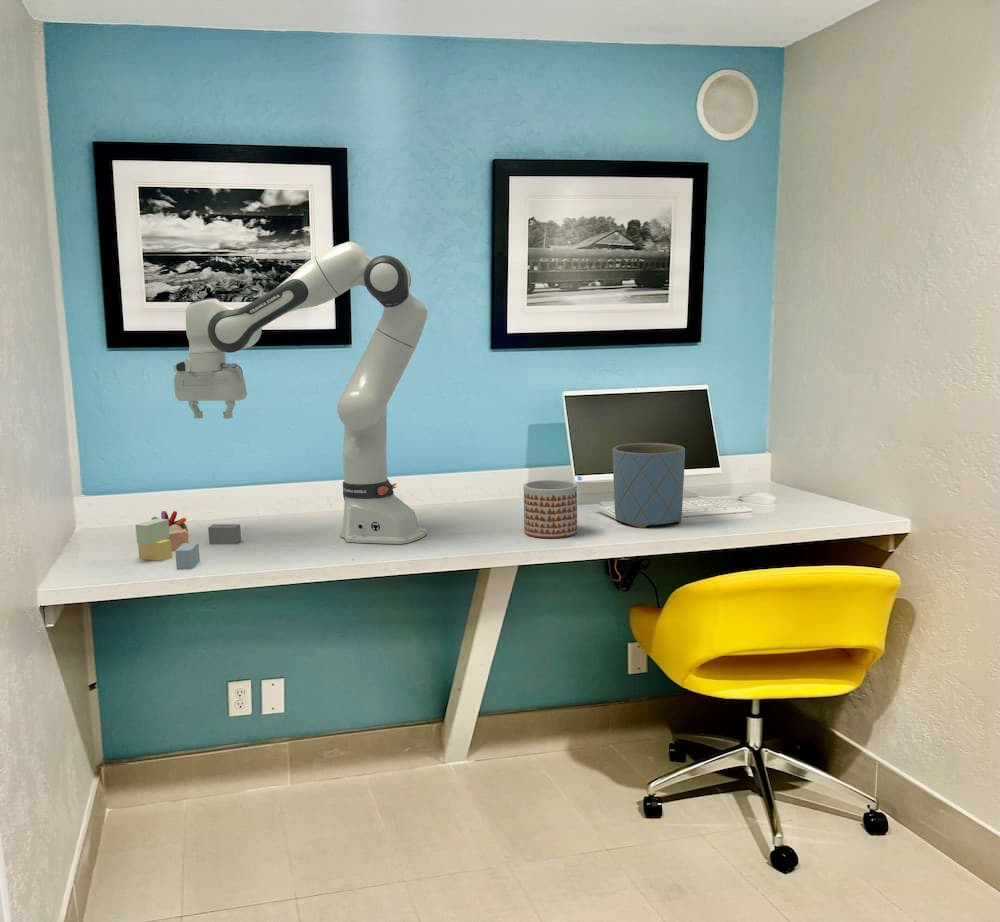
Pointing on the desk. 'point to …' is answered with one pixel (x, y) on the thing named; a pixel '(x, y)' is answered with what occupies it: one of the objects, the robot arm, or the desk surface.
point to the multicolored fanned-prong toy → (173, 525)
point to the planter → (648, 483)
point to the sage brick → (152, 531)
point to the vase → (550, 508)
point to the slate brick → (187, 555)
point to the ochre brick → (156, 550)
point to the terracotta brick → (178, 538)
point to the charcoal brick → (224, 534)
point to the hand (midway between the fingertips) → (213, 418)
